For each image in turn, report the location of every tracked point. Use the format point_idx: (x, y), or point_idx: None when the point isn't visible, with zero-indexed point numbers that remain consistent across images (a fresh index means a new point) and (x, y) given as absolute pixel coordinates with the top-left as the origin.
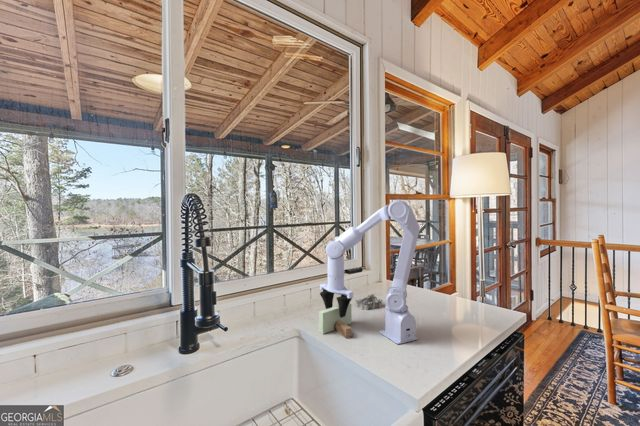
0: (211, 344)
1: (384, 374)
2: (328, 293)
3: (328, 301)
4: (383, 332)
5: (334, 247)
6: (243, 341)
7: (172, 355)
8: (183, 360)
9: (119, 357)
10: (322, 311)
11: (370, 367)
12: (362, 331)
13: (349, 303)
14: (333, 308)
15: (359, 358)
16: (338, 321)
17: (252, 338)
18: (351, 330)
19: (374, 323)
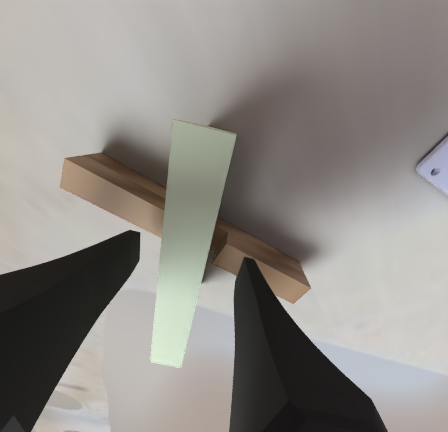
0: (68, 389)
1: (427, 362)
2: (5, 404)
3: (88, 308)
4: (443, 172)
5: None
6: (92, 369)
7: (72, 414)
8: (97, 416)
9: (39, 427)
10: (162, 355)
11: (391, 355)
12: (323, 195)
13: (211, 138)
14: (177, 305)
15: (357, 339)
16: (224, 259)
17: (90, 358)
18: (306, 280)
19: (370, 40)
